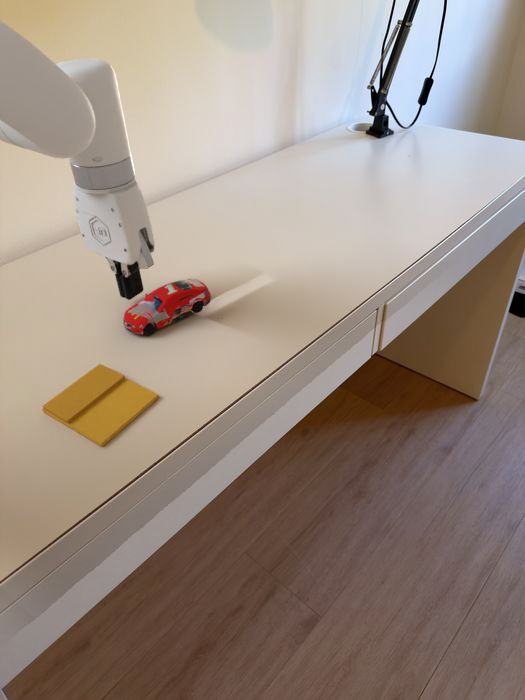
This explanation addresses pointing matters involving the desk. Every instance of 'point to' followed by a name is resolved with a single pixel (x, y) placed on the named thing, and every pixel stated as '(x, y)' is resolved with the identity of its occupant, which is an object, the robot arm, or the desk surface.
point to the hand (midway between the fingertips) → (132, 293)
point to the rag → (100, 404)
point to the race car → (166, 306)
